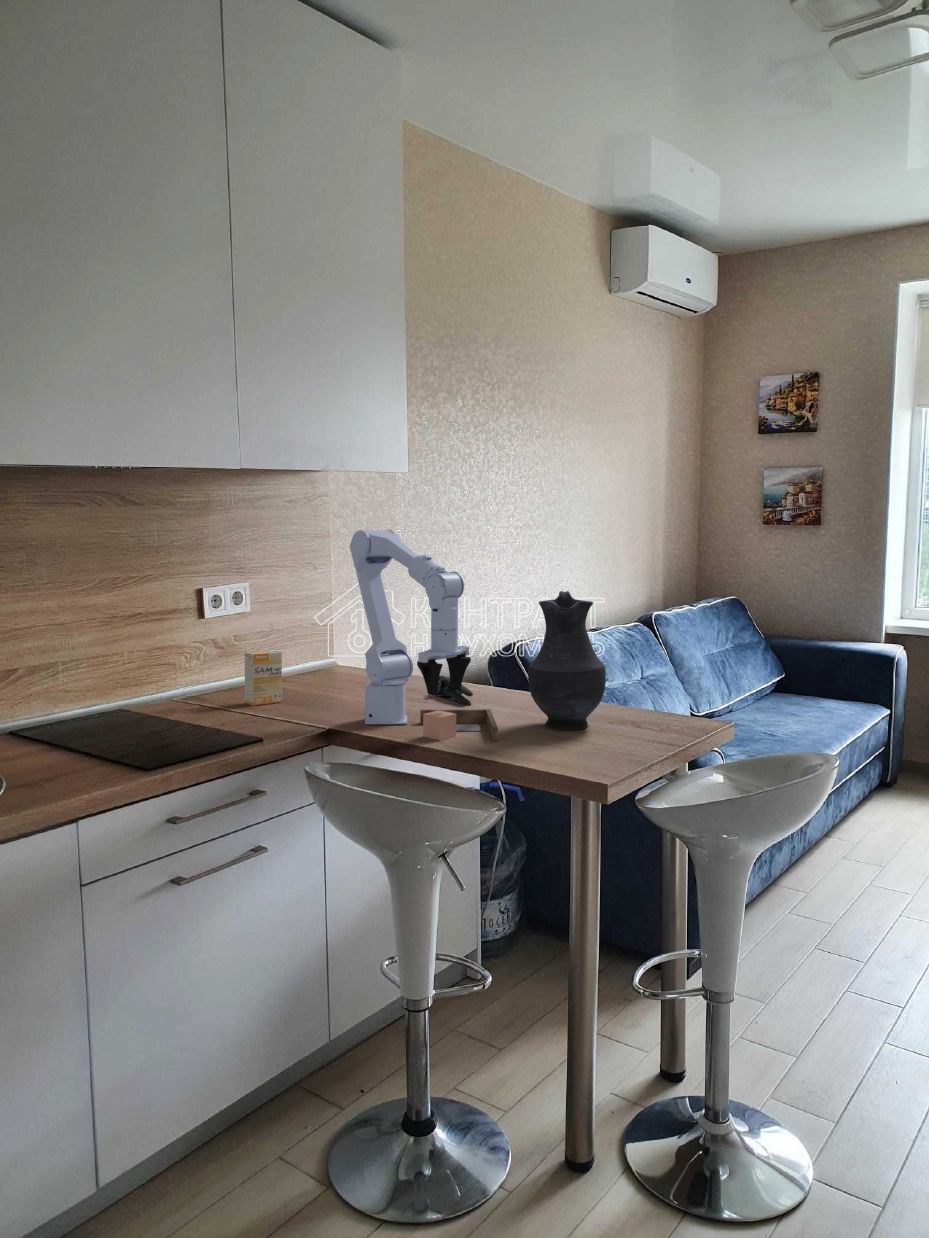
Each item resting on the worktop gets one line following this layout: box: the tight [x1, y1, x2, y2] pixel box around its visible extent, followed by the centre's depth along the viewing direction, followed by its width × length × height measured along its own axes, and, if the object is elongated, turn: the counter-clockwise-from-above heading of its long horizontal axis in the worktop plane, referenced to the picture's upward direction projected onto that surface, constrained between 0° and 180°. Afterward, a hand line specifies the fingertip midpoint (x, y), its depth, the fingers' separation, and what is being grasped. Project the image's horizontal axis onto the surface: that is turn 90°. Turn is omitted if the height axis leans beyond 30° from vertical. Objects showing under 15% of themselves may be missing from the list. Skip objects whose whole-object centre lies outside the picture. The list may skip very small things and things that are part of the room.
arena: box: [419, 708, 499, 742], centre depth 203 cm, size 16×18×3 cm
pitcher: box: [527, 590, 607, 731], centre depth 209 cm, size 17×21×30 cm
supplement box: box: [244, 649, 283, 707], centre depth 232 cm, size 8×5×13 cm, turn 128°
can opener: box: [436, 675, 474, 706], centre depth 239 cm, size 18×7×6 cm, turn 24°
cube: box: [422, 711, 457, 741], centre depth 198 cm, size 5×5×5 cm
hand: (444, 692), depth 198 cm, fingers open, 7 cm apart
